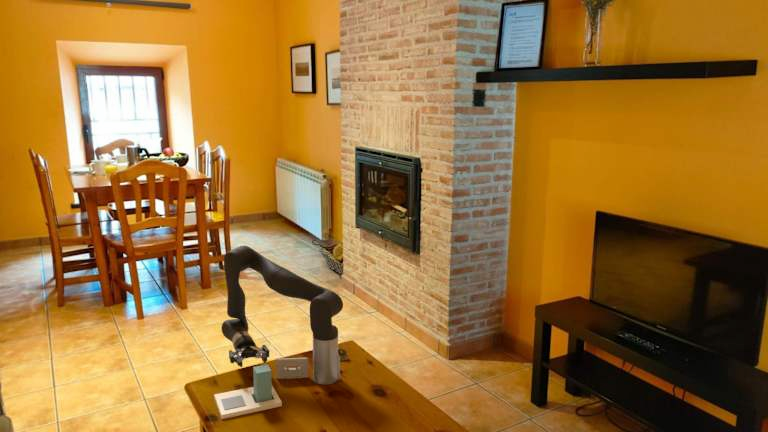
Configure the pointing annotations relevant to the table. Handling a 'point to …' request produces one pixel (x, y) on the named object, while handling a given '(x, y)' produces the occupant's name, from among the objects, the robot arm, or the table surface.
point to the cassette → (291, 372)
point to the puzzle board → (243, 402)
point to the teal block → (262, 383)
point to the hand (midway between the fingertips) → (253, 362)
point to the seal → (342, 354)
